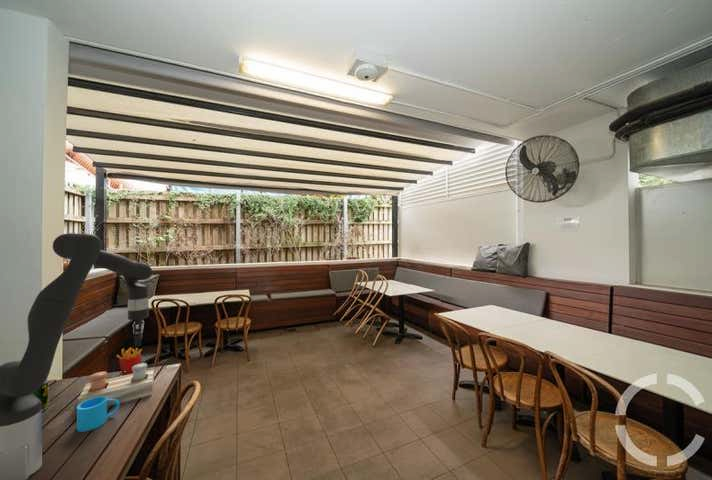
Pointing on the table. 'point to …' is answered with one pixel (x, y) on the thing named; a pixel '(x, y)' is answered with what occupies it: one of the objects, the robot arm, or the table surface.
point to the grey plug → (139, 372)
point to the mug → (93, 413)
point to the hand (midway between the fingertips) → (138, 343)
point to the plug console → (121, 389)
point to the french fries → (129, 360)
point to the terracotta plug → (98, 381)
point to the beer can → (43, 394)
